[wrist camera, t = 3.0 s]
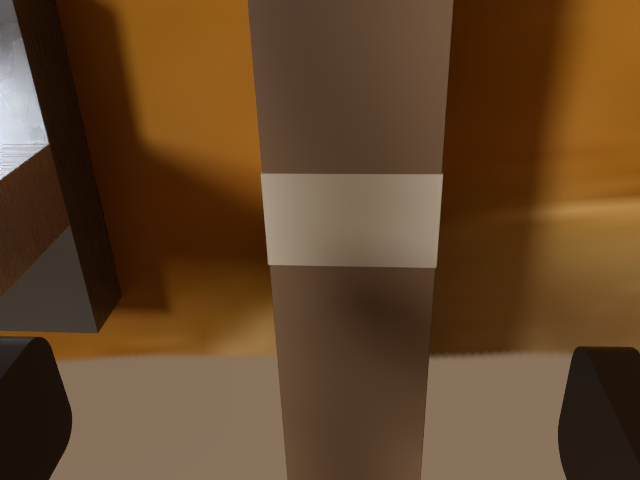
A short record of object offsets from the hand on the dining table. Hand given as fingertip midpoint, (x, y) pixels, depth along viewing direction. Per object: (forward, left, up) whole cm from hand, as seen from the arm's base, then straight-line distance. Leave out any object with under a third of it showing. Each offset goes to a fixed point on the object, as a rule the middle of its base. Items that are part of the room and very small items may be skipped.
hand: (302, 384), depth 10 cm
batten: (-1, 0, -10) cm, 10 cm away
